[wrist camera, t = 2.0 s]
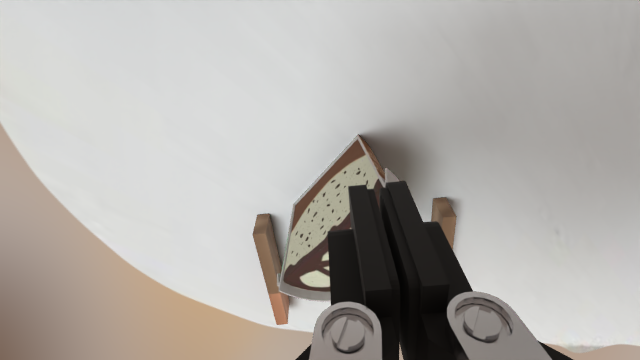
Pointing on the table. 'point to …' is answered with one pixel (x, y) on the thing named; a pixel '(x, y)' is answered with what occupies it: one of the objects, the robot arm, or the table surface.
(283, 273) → the food container
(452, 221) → the lane walls
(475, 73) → the table surface
